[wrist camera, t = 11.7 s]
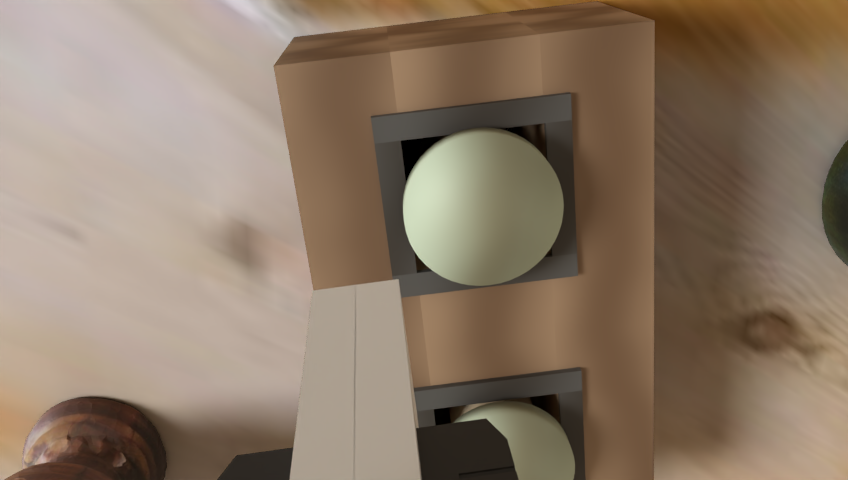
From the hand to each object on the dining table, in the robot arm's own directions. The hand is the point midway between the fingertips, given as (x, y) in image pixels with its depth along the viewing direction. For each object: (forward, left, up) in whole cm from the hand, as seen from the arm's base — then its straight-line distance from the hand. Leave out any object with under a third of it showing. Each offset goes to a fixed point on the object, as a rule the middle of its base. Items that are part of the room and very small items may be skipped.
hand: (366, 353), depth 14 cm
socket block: (+4, -9, -25) cm, 27 cm away
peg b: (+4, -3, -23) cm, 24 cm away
